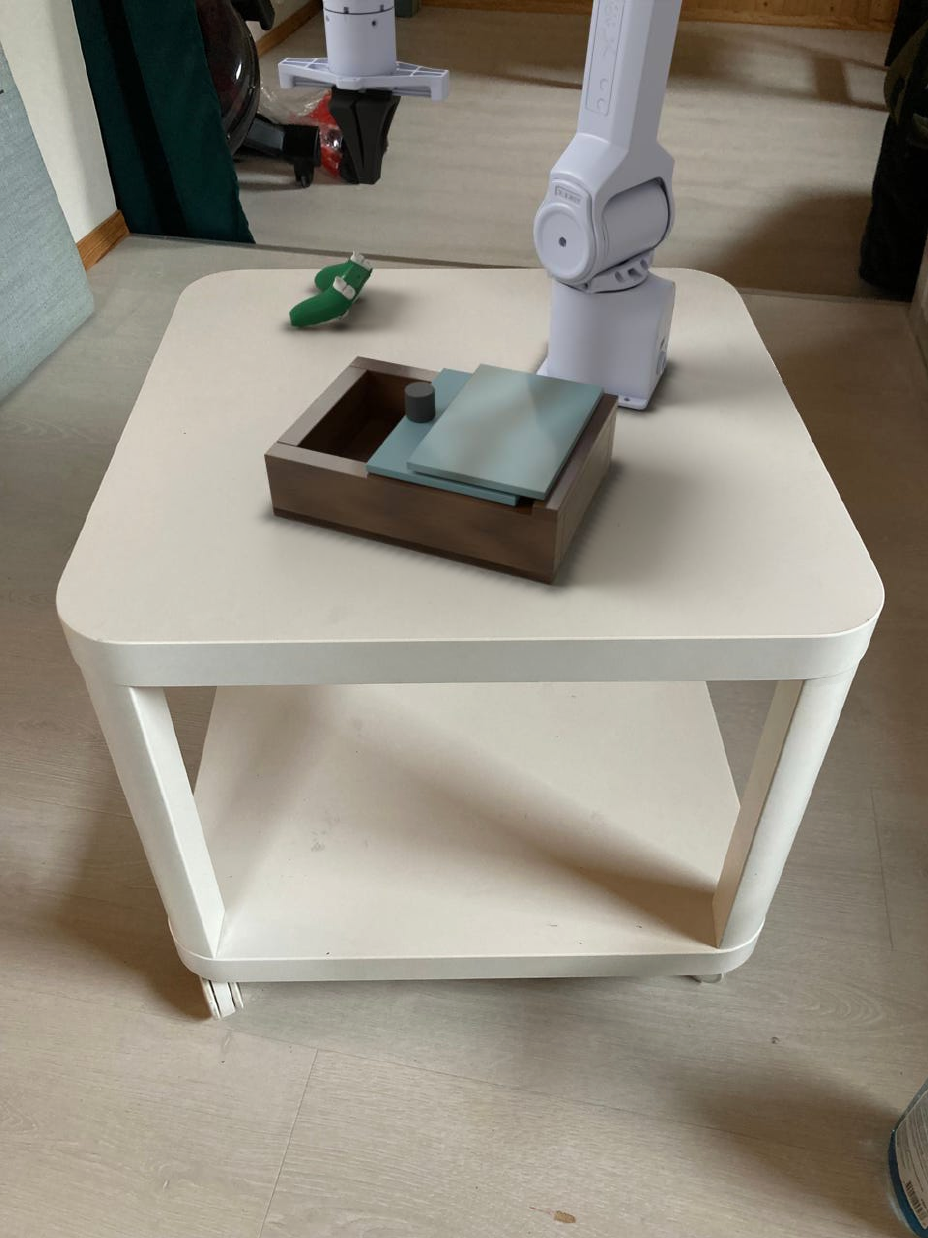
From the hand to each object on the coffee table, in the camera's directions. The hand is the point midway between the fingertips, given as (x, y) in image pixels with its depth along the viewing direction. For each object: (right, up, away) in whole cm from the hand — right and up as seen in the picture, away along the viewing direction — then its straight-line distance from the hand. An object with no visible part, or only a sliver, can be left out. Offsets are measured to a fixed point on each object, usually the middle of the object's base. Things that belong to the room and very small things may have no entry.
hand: (370, 180), depth 88 cm
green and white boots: (-3, -11, +1) cm, 12 cm away
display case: (+7, -30, -19) cm, 37 cm away
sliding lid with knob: (+9, -27, -23) cm, 37 cm away
